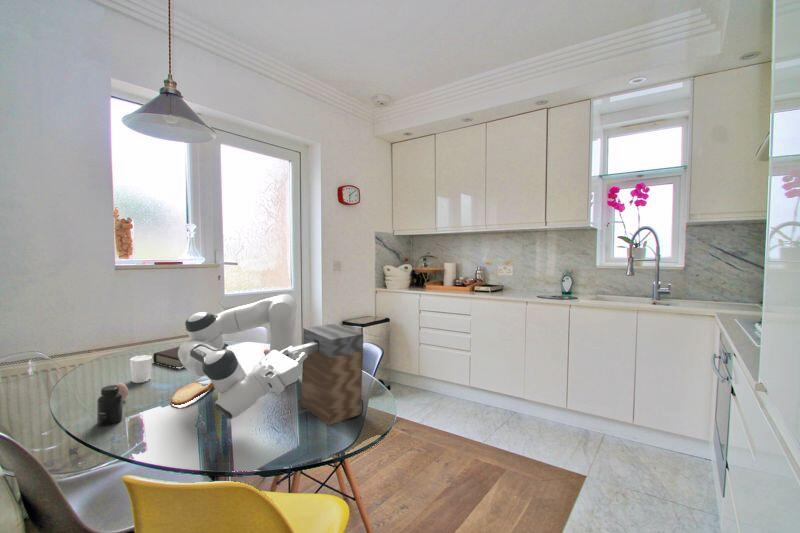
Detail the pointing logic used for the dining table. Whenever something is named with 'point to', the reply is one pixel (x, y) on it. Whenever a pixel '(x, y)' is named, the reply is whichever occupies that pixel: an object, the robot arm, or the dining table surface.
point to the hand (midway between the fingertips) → (299, 350)
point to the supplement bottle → (109, 406)
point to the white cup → (141, 368)
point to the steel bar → (303, 349)
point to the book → (169, 357)
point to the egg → (123, 389)
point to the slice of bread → (190, 393)
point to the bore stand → (333, 373)
